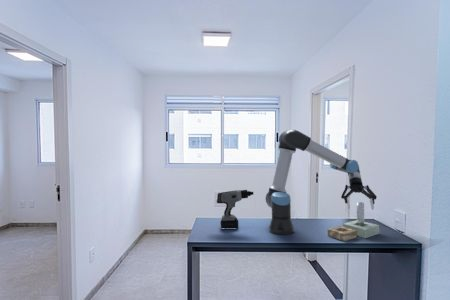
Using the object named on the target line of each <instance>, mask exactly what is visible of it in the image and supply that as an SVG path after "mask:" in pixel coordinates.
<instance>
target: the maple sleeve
mask: <svg viewBox="0 0 450 300" xmlns="http://www.w3.org/2000/svg"><path fill="white" fill-rule="evenodd" d="M327 237H330V238H334V239H337V240H339V241H342V242H347V241H350V240H353V239H356V238H357V237H358V236H357V230H353V229H349V228H346V227H343V225H338V226H334V227H331V228H330V227H329V228H328V229H327Z"/></svg>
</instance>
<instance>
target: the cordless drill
mask: <svg viewBox="0 0 450 300" xmlns="http://www.w3.org/2000/svg"><path fill="white" fill-rule="evenodd" d="M253 195H254V191H250V190H248V189H239V190H238V189H237V190H230V191H223V192H218V193H217V197H216V198H217V199H216V204H225V205H226V207H225V209H224V211H223V215H221V219H220V229H221V228H238V229H239V220H238V217H237V216H236V215H234V214H232V213H231V211H232V209H233V208H235V207H236V203H237V202H240V201H241V200H242V199H243V200H244V199H248V198H249V197H250V196H253Z"/></svg>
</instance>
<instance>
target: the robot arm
mask: <svg viewBox="0 0 450 300" xmlns="http://www.w3.org/2000/svg"><path fill="white" fill-rule="evenodd" d="M278 143H279V144H278V150H279V153H278V158H277V163H276V167H275V173H274V176H273V180H272V185H271V186H269V189H268V192H267V193H266V195H265V203H266V205H267V206H268V207H269V208H270V209H271V220H270V225H269V226H268V229H269V232H270V233H272V234H276V235H290V234H293V233H294V231H295V227H294V224H293V221H292V219H291V218H292V215H291V214H292V212H291V210H292V209H291V207H292V205H291V202H292V201H291V199H292V198H291V196H290V194H289V193H287V190H286V185H287V180H288V176H289V173H290V172H289V171H290V167H291V164H292V159H293V154H294V153H296V151H297V150H300V151H303V152H308V153H309V154H311V155H313V156H315V157H317V158H320V159H322V160H323V161H325V162H327V163H329V167H330V168H331V169H333V170H337V171H340V172H343V173H346V174H347V176H348V181H349V185H348V184H345V186H344V190H343V192H342V193H341V197H340V198H341V199H342V200H344V203H345V204H346V205H347V206H346V207H347V210H350V200H349V197H350V196H351V195H352V194H353V193H354V194H355V193H359V194H360V193H361V194H363V196H365V197H366V198H368V199H369V203H370V207H371V210H373V211H374V209H375V206H374V205H375V201H376V200H377V197H378V196H377V195H376V194H375V193H374V191H372V189H371V188H370V187H369V185H363V181H362V180H363V179H362V175H361V171H360V165H359V163H358V161H357V160H355V159H349V158H347V157H345V156H343V155H341V154H339V153H337V152H335V151H334V150H331V149H329V148H327V147H326V146H324V145H322V144H320V143H318V142H317V141H314V140H313V139H312V138H311V137H310V136H309V135H307V134H304V133H302V132H301V131H299V130H297V129H290V130H289V129H288V130H285V131H283V132H282V133H281V134H280V135H279V136H278ZM349 189H350V190H349ZM348 190H349V191H348ZM347 191H348V192H347Z"/></svg>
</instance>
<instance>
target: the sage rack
mask: <svg viewBox="0 0 450 300" xmlns="http://www.w3.org/2000/svg"><path fill="white" fill-rule="evenodd" d="M342 227H346V228H349V229H353V230H357V237H359V238H363V239H367V238H370V237H373V236H376V235H380V225H379V224H375V223H371V222H367V221H364V227H362V226H358V225H357V219H356V220H352V221H347V222H344V223H342Z"/></svg>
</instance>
